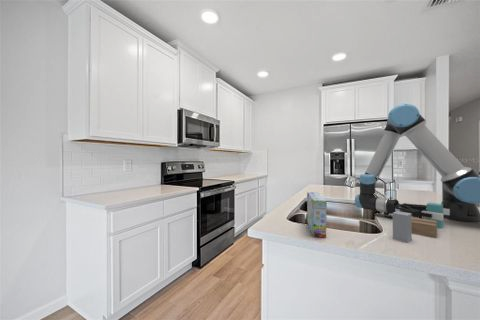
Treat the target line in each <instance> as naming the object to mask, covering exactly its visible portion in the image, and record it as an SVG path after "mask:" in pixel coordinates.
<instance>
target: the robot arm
mask: <svg viewBox="0 0 480 320" xmlns="http://www.w3.org/2000/svg"><path fill="white" fill-rule="evenodd" d="M386 121H387V122H386V123H385V124H386V125H385V127H384V130H383V133H384V134H383V135H382V138H381V140H380V141H379V144H378V145H377V147H376V150H375V151H374V153H373V156H372V158H371V159H370V162H369V164H368V166H367V168H366V169H365V172H364V174H360V175H359V194H356V195H355V198H354V205H355V206H356V208H359V209H363V210H369V211H376V212H380V213H381V214H382V213H387V214H392V215H393V213H394V212H396V211H400V212H406V213H411V217H414V218H420V219H425V218H426V219H427V218H430V219H436V220H442V221H443V222H444V218H445V219H449V220H454V221H460V222H461V221H462V222H471V223H472V222H473V223H474V222H475V223H478V222H480V210H479V208H478V205H477V204H480V176H479V174H478V173H476V171H474V169H473V168H472V167H467V166H464V165H463V164H462V163H461V162H460V160H458V159H457V157H456V156H454V155H453V153H452V152H451V151H450V150H449V149H447V147H446V146H445V145H444V144H443V143H442V141H441V140H440V139H438V137H436V136H435V134H434V132H432V131H431V130H430V129H429V128H428V127H427V126H426V123H427V120H426V119H425V118H424V117H423V116H422V115H421V114H420V110H419V109H418V108H417V106H415V105H413V104H411V103H400V104H397V105H395V106H394V107H393V108H391V110H390V111H389V112H388V114H387V119H386ZM402 137H406V138H407V140H409V141H410V142H411V143H412V145H413V146H414V147H415V148H416V149H417V150H418V152H420V153H421V155H422V156H423V157H424V158H425V159H426V160H427V162H428V163H429V164H430V165H431V166H432V167H433V169H435V170H436V171H437V173H438V174H439V175H440V176H441V179H440V182H441V188H442V190H441V191H442V192H441V194H442V195H441V197H442V200H441V203H440V204H443V214H441V213H434V212H427V204H416V203H407V202H405V203H400V202H399V200H398V199H394V198H393V199H394V200H389V199H390V198H388V200H387V199H386V198H387V197H380V196H376V195H375V196H376V197H375V196H374V195H373V194H374V193H375V194H376V184H377V182H378V180H379V178H380V176H381V174H382V172H383V171H384V168H385V166H386V164H387V163H388V161H389V159H390V158H391V155H392V153H393V151H394V149H395V148H396V146H397V143H398V141H399V139H400V138H402ZM372 174H375V175H376V176H378V177H379V178H378V179H377V178H376V177H375V175H372ZM377 197H379V198H377Z"/></svg>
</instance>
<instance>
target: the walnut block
mask: <svg viewBox="0 0 480 320" xmlns="http://www.w3.org/2000/svg"><path fill="white" fill-rule="evenodd" d="M411 218H412V235H418V236H424V237H429V238H434V239H437V235H438V228H437V221H433V220H427V218H426V219H425V218H422V219H420V218H419V217H418V218H417V217H413V216H411Z"/></svg>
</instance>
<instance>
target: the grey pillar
mask: <svg viewBox="0 0 480 320" xmlns="http://www.w3.org/2000/svg"><path fill="white" fill-rule="evenodd" d="M412 235H413V234H412V216H411V213H406V212H400V211H396V212H394V213H393V214H392V240H395V241H396V240H397V241H400V242H404V243H409V242H410V241H412V238H413V237H412Z"/></svg>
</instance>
